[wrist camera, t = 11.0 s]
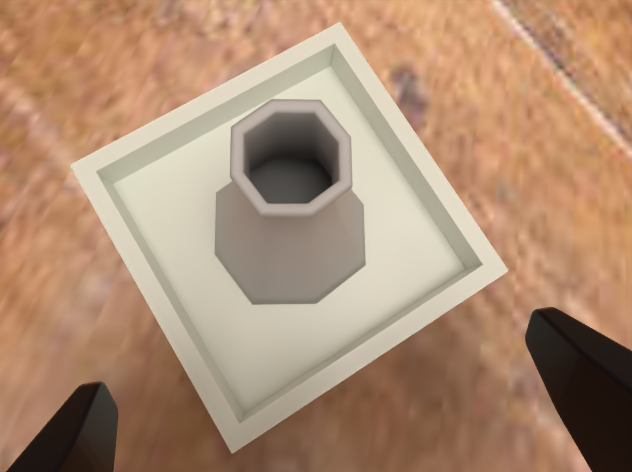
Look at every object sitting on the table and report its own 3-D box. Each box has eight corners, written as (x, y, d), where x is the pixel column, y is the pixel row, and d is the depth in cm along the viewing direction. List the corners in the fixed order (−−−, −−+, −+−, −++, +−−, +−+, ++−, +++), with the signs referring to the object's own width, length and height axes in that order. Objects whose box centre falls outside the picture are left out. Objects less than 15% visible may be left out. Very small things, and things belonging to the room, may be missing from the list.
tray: (239, 436, 20) (231, 453, 17) (94, 182, 22) (69, 165, 19) (483, 275, 22) (508, 270, 19) (334, 52, 23) (340, 21, 21)
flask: (239, 330, 20) (192, 346, 10) (192, 182, 21) (108, 67, 11) (389, 278, 21) (478, 245, 11) (337, 137, 22) (375, -7, 12)
